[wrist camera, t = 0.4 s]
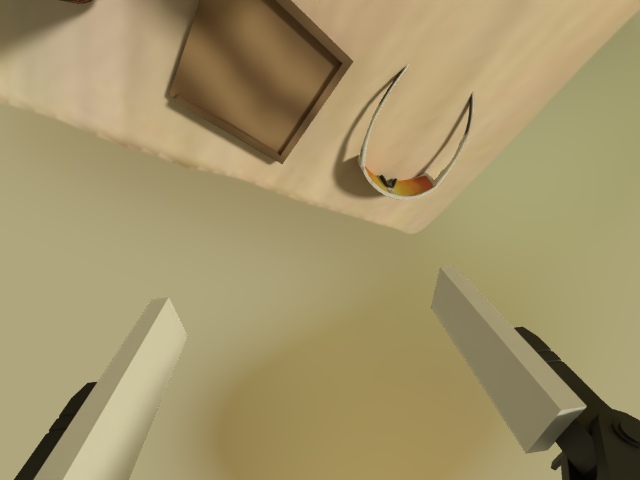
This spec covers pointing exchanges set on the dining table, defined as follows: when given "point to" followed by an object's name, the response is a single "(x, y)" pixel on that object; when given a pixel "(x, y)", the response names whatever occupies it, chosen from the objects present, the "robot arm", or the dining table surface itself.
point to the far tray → (258, 71)
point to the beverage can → (78, 1)
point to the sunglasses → (417, 184)
